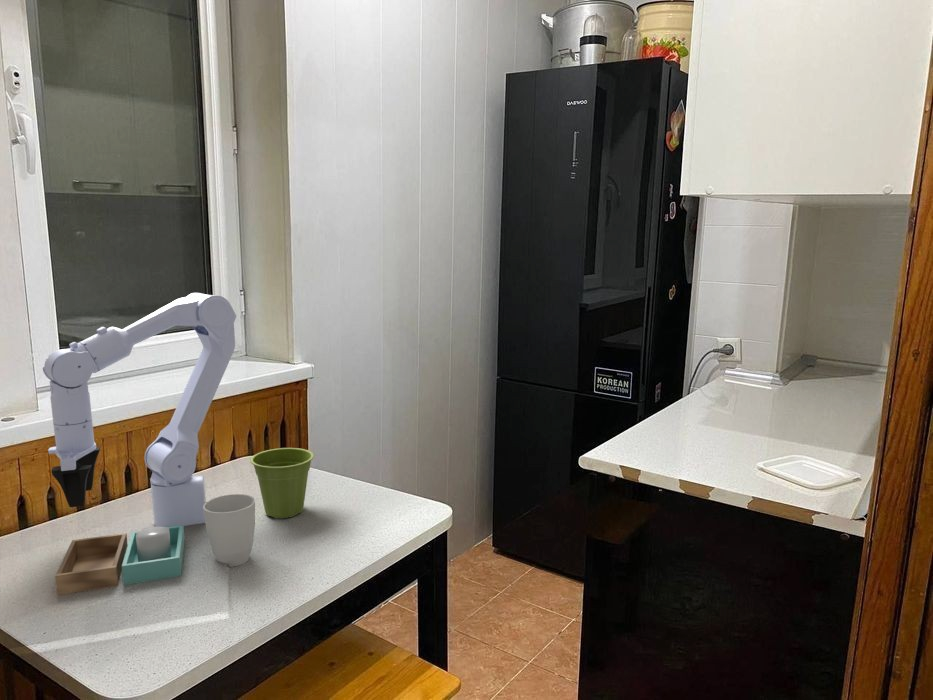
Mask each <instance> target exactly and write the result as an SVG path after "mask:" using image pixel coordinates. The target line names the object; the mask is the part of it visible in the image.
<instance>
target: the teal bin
mask: <svg viewBox="0 0 933 700" xmlns="http://www.w3.org/2000/svg"><path fill="white" fill-rule="evenodd" d="M184 527H185V526H183V525H181V526H174V527H167V528H168V529H169V533H170V545H171V557H170V558H163V559H156V560H150V561H143V562H138V554H137V543H136V534H137V533H138V532H139V531H140V530H138V531H137V530H136V531H131V534H130V537H129V540H128V542H127V543H128V546H127V550H126V553H125V557H124V560H123V564H122V573H121V575H122V582H123V583H122V584H123V585H124V586H125V585H130V584H131V585H132V584H136V583H143V582H145V583H146V582H150V581H156V580H163V579H170V578H176V577H181V576H182V569H183V562H184V561H183V558H184V553H185V552H184V550H185V542H186V541H185V539H186V538H185V530H184V529H185V528H184Z"/></svg>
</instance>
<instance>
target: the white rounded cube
mask: <svg viewBox="0 0 933 700" xmlns="http://www.w3.org/2000/svg"><path fill="white" fill-rule="evenodd" d="M138 531H139V532H138V533H137V534H136V543H137V554H138V562H143V561H150V560H156V559H163V558H170V557H171V545H170V533H169V529H168V528H167V527H156V526H150V527H147V528H144V529H141V530H138Z"/></svg>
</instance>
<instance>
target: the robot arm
mask: <svg viewBox="0 0 933 700" xmlns="http://www.w3.org/2000/svg"><path fill="white" fill-rule="evenodd" d="M236 314H237V313H236V312H235V311H234V309H233V307H232V305H231V303H230V302H229V300H228V299H227V298H225V297H223V296H222V295H217V294H215V295H213V294H205V293H201V292H191V293H190V294H188V295H187V296H184V297H180V298H177V299H175V300H173V301H172V302H170V303H168V304H166V305H164V306H162V307H159V308H158V309H157V310H155V311H154V312H153V311H152V312H151V313H150V314H148V315H146V316H144V317H142V318H141V319H139V320H137V321H135V322H134V323H131V324H130V325H129V324H128V325H127V326H126V327H124V328H122V329H121V328H119V327H115V326H110V327H108V328H107V327H104V326H100V327H98V328H97V329H96V332H97V333H95V334H93V335H92V336H89V337H87V338H85V339H83V340H82V341H79V342H76V341H72V342H71V343H69V344H68V345H69V349H63V348H62V349H57V350H55V351H53V352H51V353H50V354H49V355H48V356H47V358H46V359H45V361H44V365H43V366H42V371H43V374H44V375H45V377H46V378H47V379H49V391H50V404H51V406H50V407H51V415H52V422H53V425H52V426H53V432H54V441H55V446H51V447H49V448H48V449H47V451H48V452H47V453H48V454H49V455H56V456H57V458H58V459H59V463H60V465H58V466H53V467H52V468H51V470H50V471H51V476H52V477H53V478H54V479H55V480H56V481H57V483H58V484H59V485H60V487H61V490H62V492H63V494H64V497H65V500H66V502H67V504H68V507H69V508H76V507H84V506H85V501H86V495H87V494H86V493H87V492H88V491H92V489H93V487H94V486H93V485H94V475H95V468H96V462H97V459H98V457H99V454H100V451H101V447H100V446H97V444H96V442H95V433H94V426H93V425H94V424H93V416H92V408H91V407H92V405H91V398H90V397H91V396H90V391H89V383H88V381H89V380H90V379H91V377H92V374H96V373H99V371H102V370H104V369H106V368H108V367H109V366H112V365H114V364H116V363H118V362H119V361H121V360H123V359H125V358H127V357H129V356H130V355H131V354H132V353H131V352H132V350H133V348H134V346H135V345H137V344H139V343H141V342H144V341H146V340H148V339H150V338H151V337H154V336H157V335H158V334H161V333H163V332H165V331H167V330H169V329H171V328H173V327H176V326H179V327H181V326H182V327H191V329H193V330H194V331H195V332H196V335H197V336H198V339H199V340H200V342H201V344H202V350H201V352H200V355H199V356H198V359H197V361H196V363H195V365H194V368H193V369H192V372H191V375H190V376H189V379H188V381H187V382H186V383H187V384H186V386H185V388H184V390H183V393H182V395H181V397H180V399H179V401H178V403H177V406H176V408H175V410H174V413H173V415H172V417H171V419H170V422H169V423H168V424H167V425H166V426H165V427H164V428H163V429H161V430H160V431H159V434H158V435H157V437H156V439H155V440H153V442H152V443H151V444H149V445H148V446H147V448H146V450H145V452H144V463H145V466H146V467H147V468H148V469H150V471H151V472H152V474H151V477H150V479H149V480H150V490H151V491H150V492H151V501H152V512H153V523H154V524H153V525H154V527H174V526H181V525H183V527H187V526H192V525H199V524H206V522H205V515H204V509H203V506H204V504H205V503H206V502H207V500H206V499H207V498H206V484H205V477H204V476H205V475H194V473H195V471H196V467H197V455H198V451H199V450H200V445H199V444H200V443H199V437H198V434H199V432H200V429H201V427H202V425H203V423H204V420H205V418H206V415H207V413H208V412H209V408H210V406H211V405H212V402H213V399H214V398H215V395H216V393H217V390H218V388H219V386H220V383H221V381H222V379H223V377H224V374H225V373H226V371H227V370H226V369H227V368H228V365H229V363H230V360H231V359H232V357H233V353H234V352H235V348H236V341H235V340H236V336H235V321H236V318H237V315H236ZM86 491H87V492H86Z"/></svg>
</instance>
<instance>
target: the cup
mask: <svg viewBox="0 0 933 700" xmlns="http://www.w3.org/2000/svg"><path fill="white" fill-rule="evenodd" d="M203 509H204V515H205V522H206V523H205V527H206V534H207V537H208V541H209V544H210V547H211V551H212V554H213V555H214V557H215V560H216V561H217V562H218V563H221V564H226V567H227V568H231V567H238V566H240V565H243V564H245V563H247V562H248V561H249V560H250V556H251V552H252V548H253V545H254V537H255V535H254V534H255V529H256V528H255V527H256V499H255V497H253V496H252V495H249V494H243V493H233V494H232V493H231V494H224V495H221V496H217V497H213V498H212V499H210V500H206V503H205V504H204V506H203Z"/></svg>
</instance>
